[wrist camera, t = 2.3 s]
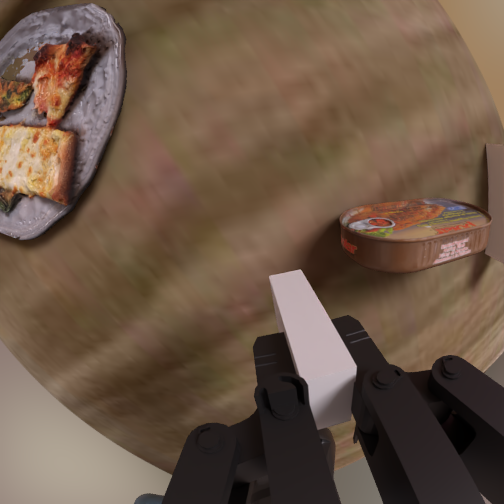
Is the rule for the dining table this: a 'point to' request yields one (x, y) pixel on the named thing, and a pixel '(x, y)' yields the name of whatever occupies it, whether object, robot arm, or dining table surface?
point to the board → (496, 201)
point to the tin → (413, 233)
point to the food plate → (56, 112)
